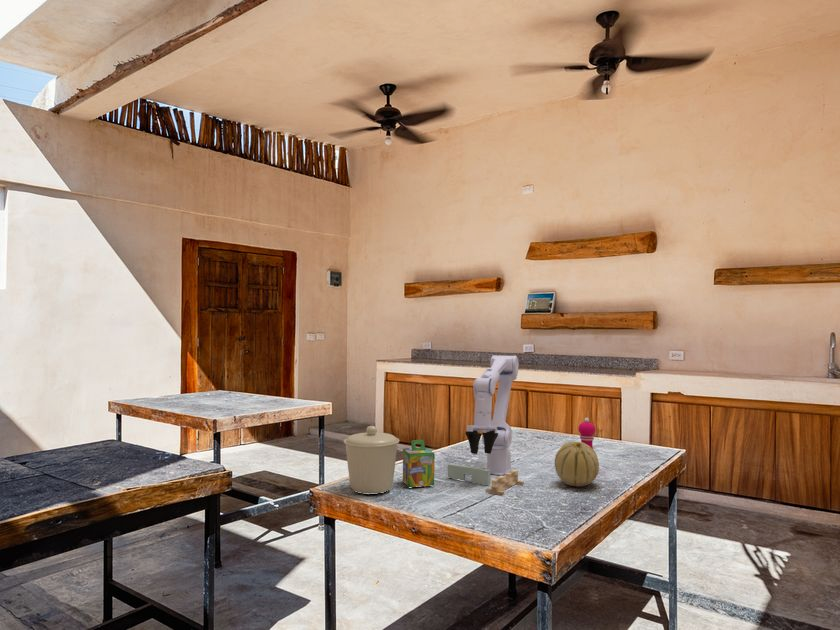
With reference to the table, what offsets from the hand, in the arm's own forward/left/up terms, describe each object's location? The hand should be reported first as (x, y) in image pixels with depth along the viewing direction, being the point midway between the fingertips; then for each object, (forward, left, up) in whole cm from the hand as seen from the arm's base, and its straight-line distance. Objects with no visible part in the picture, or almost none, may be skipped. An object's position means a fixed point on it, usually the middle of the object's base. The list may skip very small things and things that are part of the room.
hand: (481, 453), depth 193 cm
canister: (+27, -25, -11) cm, 39 cm away
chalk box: (+12, -17, -11) cm, 24 cm away
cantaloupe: (-18, +27, -11) cm, 34 cm away
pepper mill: (-37, +24, -11) cm, 45 cm away
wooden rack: (-1, +9, -10) cm, 14 cm away
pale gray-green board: (-1, -5, -10) cm, 12 cm away
